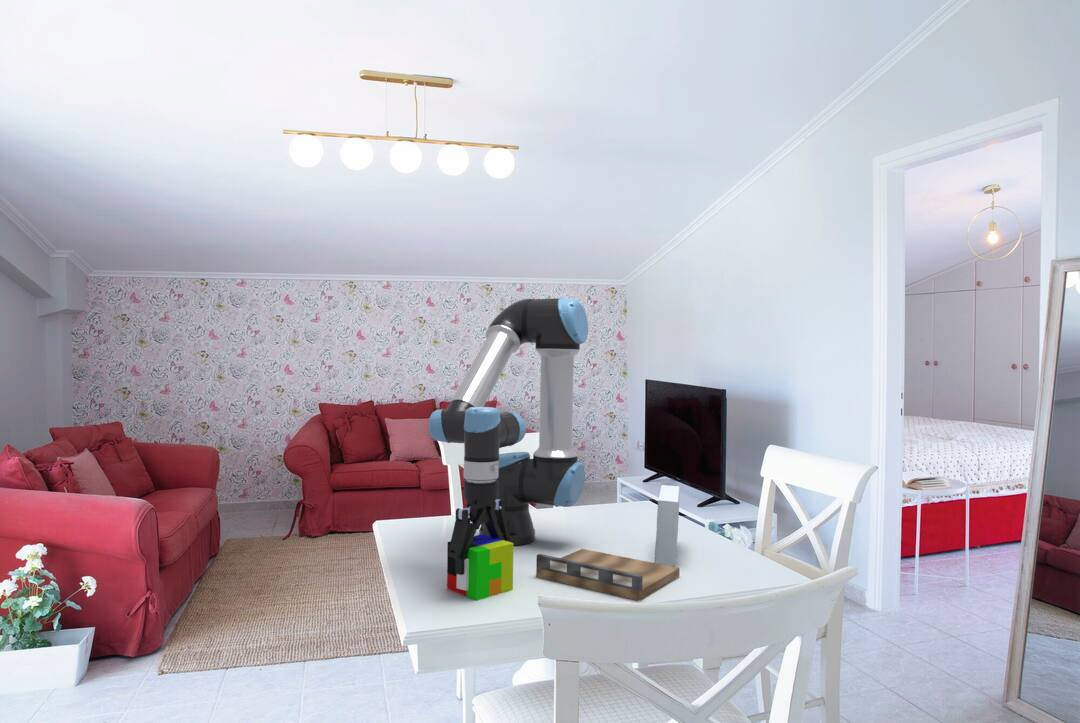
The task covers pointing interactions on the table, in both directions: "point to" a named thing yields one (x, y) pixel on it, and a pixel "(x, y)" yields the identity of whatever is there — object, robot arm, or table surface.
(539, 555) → the brown piece
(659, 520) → the skincare box
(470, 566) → the puzzle toy
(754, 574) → the table surface
